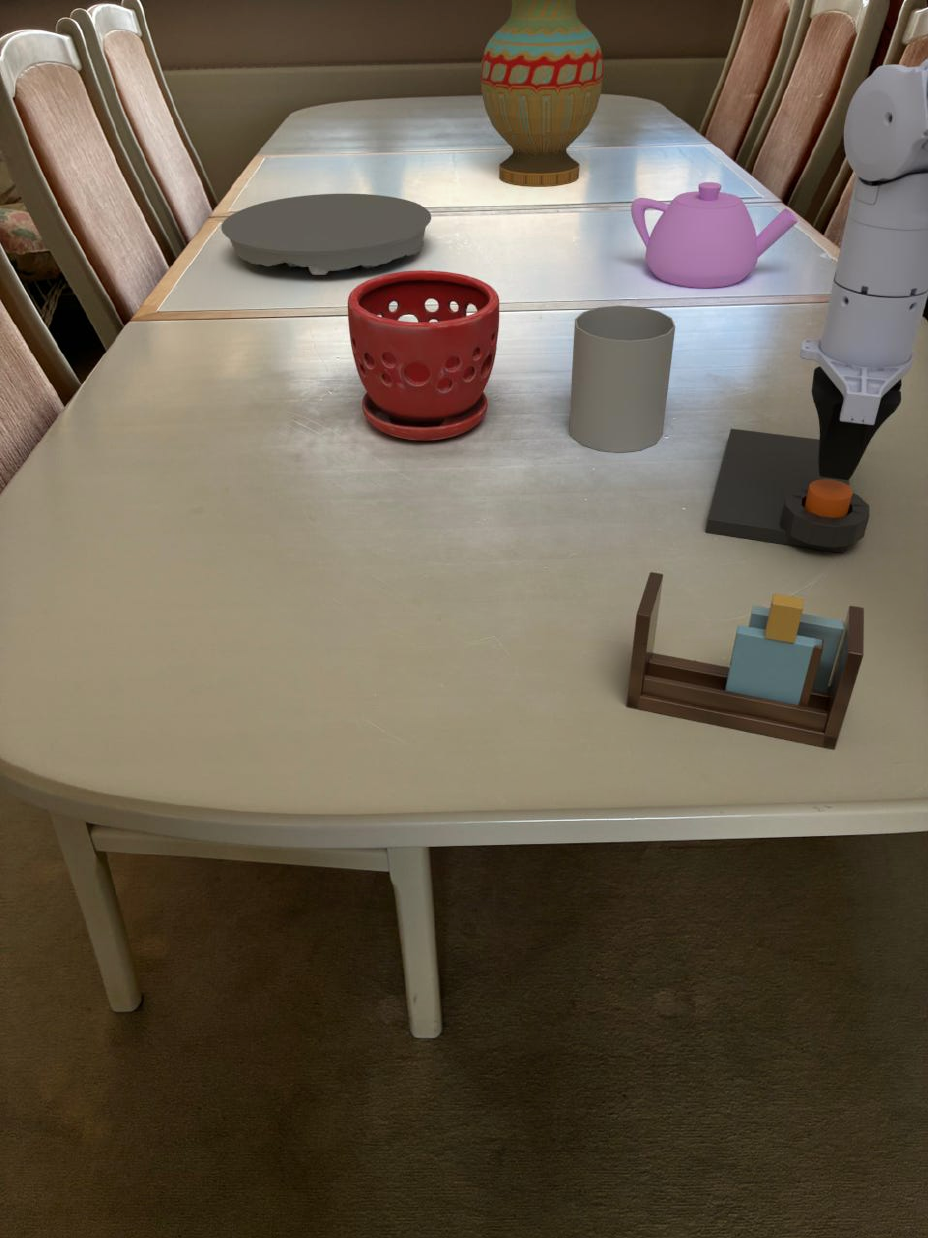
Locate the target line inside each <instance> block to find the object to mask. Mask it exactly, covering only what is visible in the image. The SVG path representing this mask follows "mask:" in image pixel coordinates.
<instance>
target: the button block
mask: <svg viewBox="0 0 928 1238" xmlns="http://www.w3.org/2000/svg"><path fill="white" fill-rule="evenodd" d="M818 457H819V439H818V438H811V437H801V436H793V435H785V434H779V433H771V432H761V431H755V430H745V429H738V428H730V430H729V434H728V439H727V442H726V446H725V450H724V453H723V458H722V462H721V466H720V469H719V472H718V476H717V477H718V478H717V482H716V485H715V489H714V493H713V496H712V501H711V504H710V509H709V512H708V516H707V520H706V525H705V526H706V527H705V533H707V534H708V533H709V534H714V535H721V536H726V537H727V536H729V537H734V538H740V539H748V540H753V541H760V542H766V543H773V544H779V545H786V546H792V547H797V548H798V547H799V548H806V549H811V550H818V551H825V552H832V553H838V554H844V553H845V548H846V547H848V546H849V547H850V546H853V545H855V544H856V543H857V542H859V541H860V540H862V539H863V538H864V537H865V534H866V531H867V527H868V523H869V519H870V505H869V504H868V503H867V502H866V501H865V500H864V499H863V498H862V496H860V495H859V494H857V493H854V492H853V493H852V497H851V501H850V505H849V509H848V513H847V515H846V516H845V517H838V518H830V517H823V516H818V515H816V514H813V513H811V512H809V511H807V510H806V509H805V503H806V498H807V494H808V490H809V486H810V484H811V483H812V482H814V481H816V480H820V479H831V480H836V481H840V482H843V483H845V484H847V485H848V486H849V487H850V479H849V480H842V479H835V478H827V477H821V476H819V466H818Z"/></svg>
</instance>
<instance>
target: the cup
mask: <svg viewBox="0 0 928 1238" xmlns="http://www.w3.org/2000/svg"><path fill="white" fill-rule="evenodd" d="M573 332H574V333H573V348H572V365H571V385H570V386H571V387H570V403H569V404H570V405H569V421H568V422H569V423H568V429H569V435H570V437H571V438H572V439H574V440H575V441H576V442H577V443H578V444H579V445H581V446H583V447H588V448H590V449H593V450H596V451H601V452H610V453H621V454H622V453H631V452H638V451H643V450H645V449H647V448H650V447H652V446H655V445H656V444H657V443H659V441H660V440H661V438H662V437H663V433H664V427H665V426H664V425H665V417H666V410H667V409H666V408H667V400H668V399H667V398H668V391H669V382H670V376H671V375H670V374H671V366H672V357H673V349H674V340H675V332H676V324H675V322H674V320H673V318H672V317H671V316H669V315H667V314H666V313H664V312H661V311H659V310H655V309H651V308H647V307H643V306H635V305H620V304H619V305H609V306H599V307H595V308H592V309H589V310H585V311H583V312H581V313H579V315H578V316H577V317H575V319H574V329H573Z"/></svg>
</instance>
